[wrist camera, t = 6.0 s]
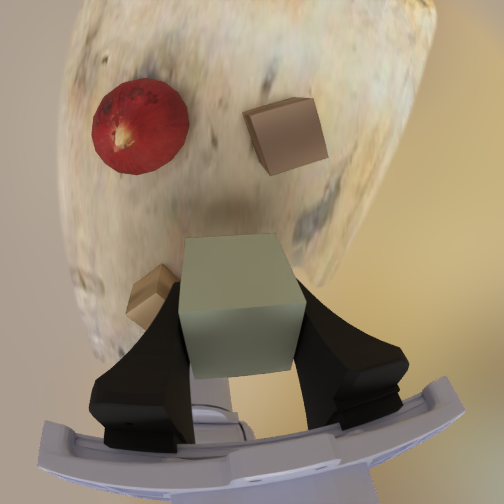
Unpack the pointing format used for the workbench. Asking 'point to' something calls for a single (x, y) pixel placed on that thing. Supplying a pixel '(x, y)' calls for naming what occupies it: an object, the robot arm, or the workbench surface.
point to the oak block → (150, 296)
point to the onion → (140, 126)
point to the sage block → (239, 306)
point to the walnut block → (286, 134)
